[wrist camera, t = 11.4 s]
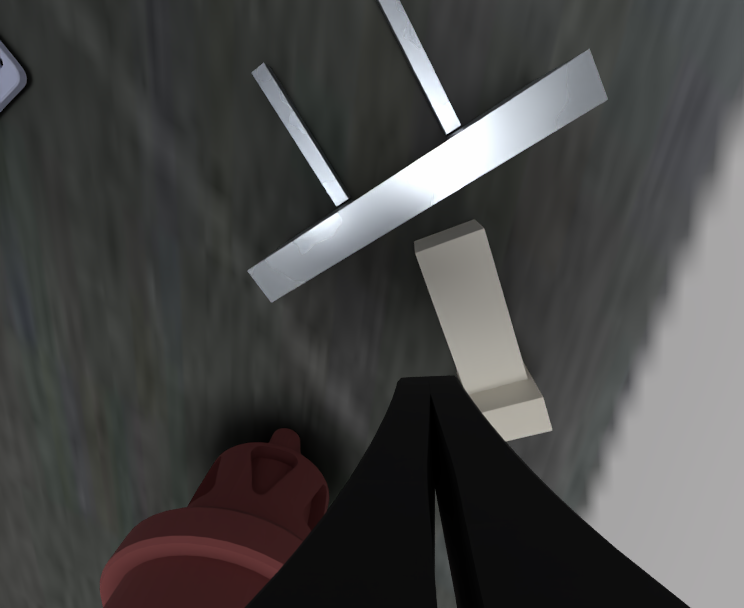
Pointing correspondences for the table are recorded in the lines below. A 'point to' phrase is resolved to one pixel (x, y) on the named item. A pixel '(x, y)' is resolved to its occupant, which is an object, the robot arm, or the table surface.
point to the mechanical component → (222, 532)
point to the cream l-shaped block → (480, 329)
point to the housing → (427, 174)
